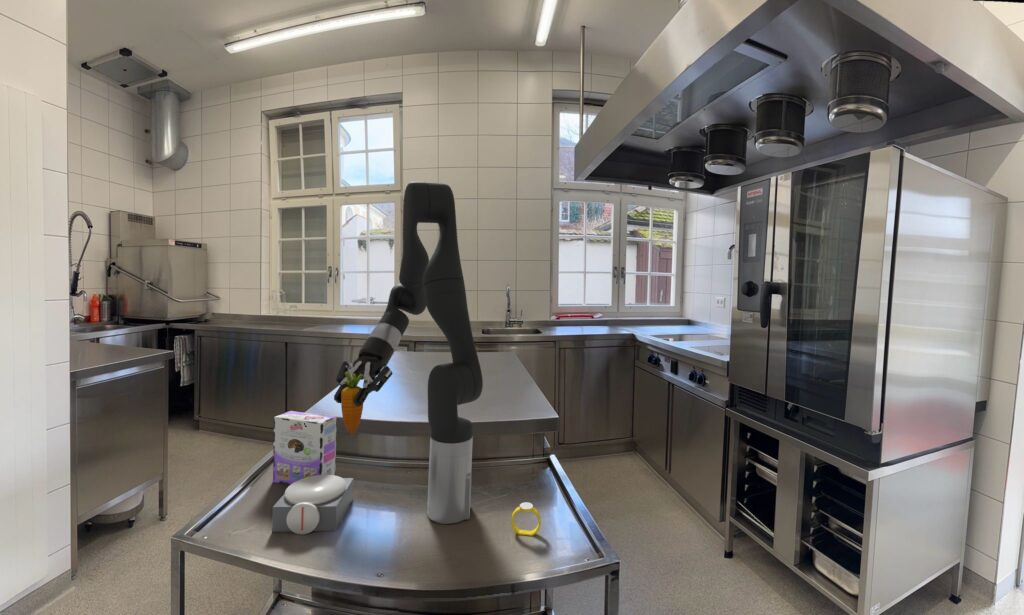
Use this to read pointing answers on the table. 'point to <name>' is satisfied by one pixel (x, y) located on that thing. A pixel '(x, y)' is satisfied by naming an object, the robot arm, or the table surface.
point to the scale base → (311, 513)
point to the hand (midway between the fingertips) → (346, 402)
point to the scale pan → (315, 489)
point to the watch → (526, 508)
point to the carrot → (351, 403)
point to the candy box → (303, 446)
